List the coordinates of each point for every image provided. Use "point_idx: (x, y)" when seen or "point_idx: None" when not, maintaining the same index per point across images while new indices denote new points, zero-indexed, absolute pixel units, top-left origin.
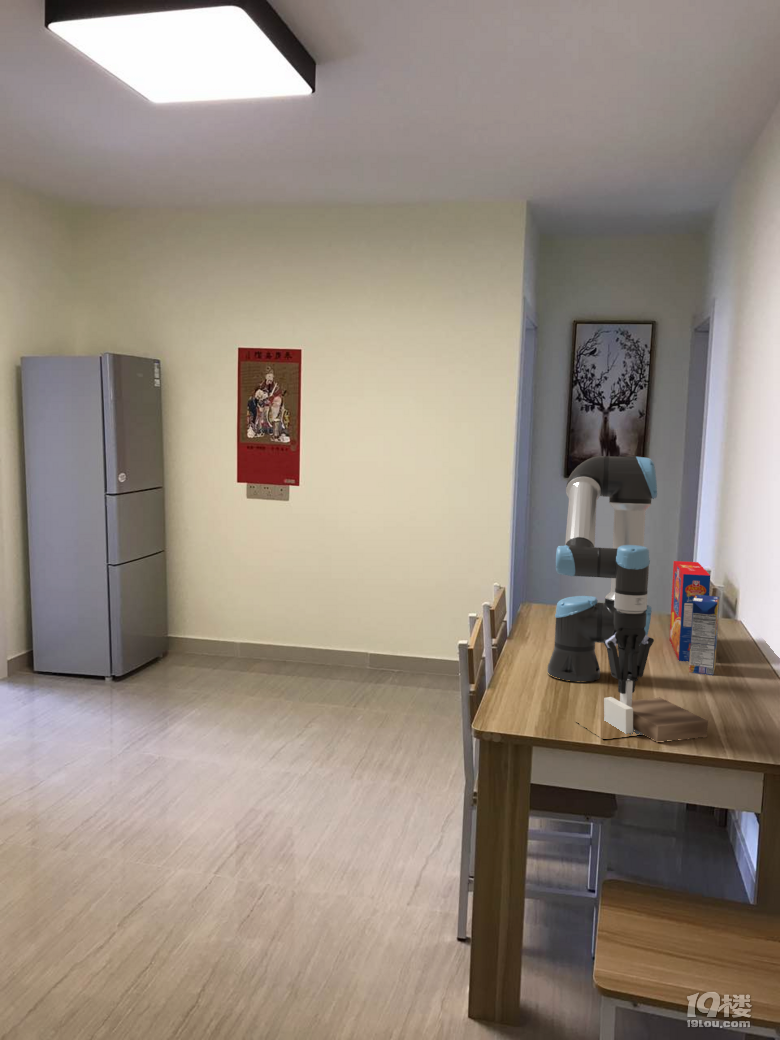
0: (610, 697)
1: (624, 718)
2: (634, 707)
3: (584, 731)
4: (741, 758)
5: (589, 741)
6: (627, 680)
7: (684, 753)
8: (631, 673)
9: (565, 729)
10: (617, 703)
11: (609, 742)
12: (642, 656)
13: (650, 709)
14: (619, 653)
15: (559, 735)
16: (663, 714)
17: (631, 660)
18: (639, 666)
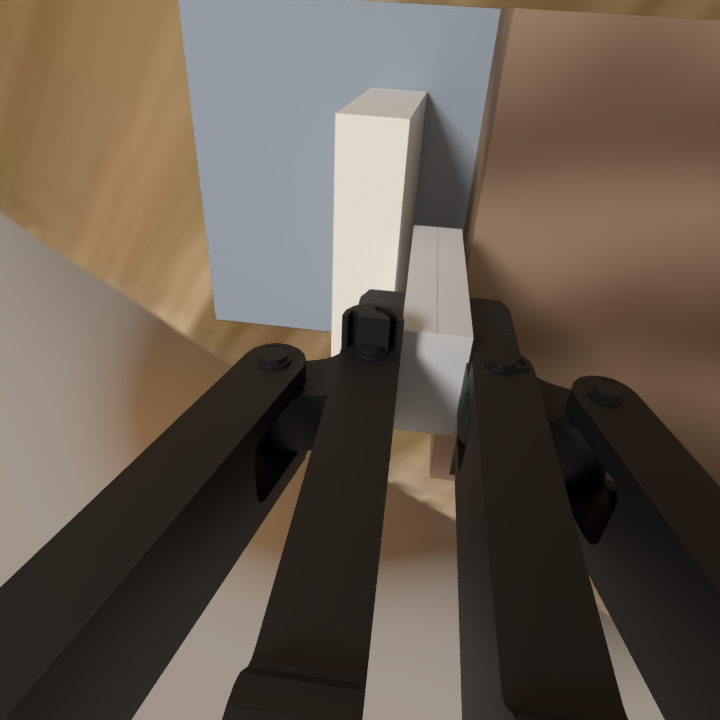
0: (392, 134)
1: None
2: (567, 203)
3: (176, 178)
4: (599, 597)
5: (147, 300)
6: (417, 405)
7: (452, 513)
8: (456, 472)
9: (78, 107)
10: (353, 276)
11: (232, 341)
12: (681, 717)
13: (636, 281)
14: (264, 644)
15: (21, 180)
16: (621, 378)
17: (464, 614)
18: (593, 547)
